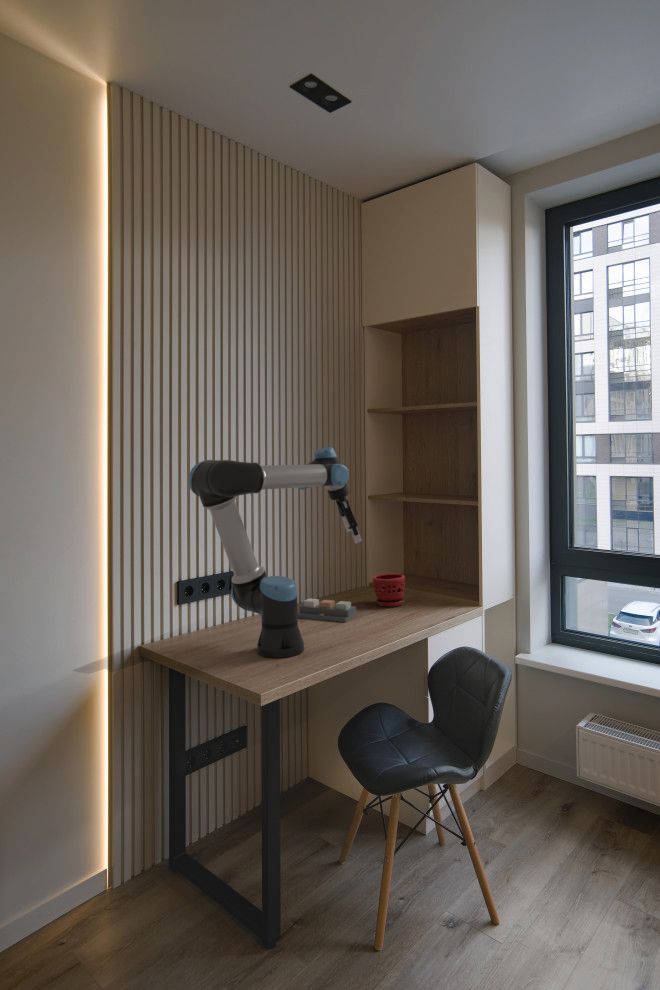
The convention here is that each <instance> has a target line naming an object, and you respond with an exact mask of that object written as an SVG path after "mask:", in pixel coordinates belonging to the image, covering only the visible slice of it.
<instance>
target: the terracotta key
mask: <svg viewBox="0 0 660 990" xmlns="http://www.w3.org/2000/svg"><path fill="white" fill-rule="evenodd" d="M335 602H336V601H335V600H333V599H332V600H330V599H323V600H321V601H319V603H320V608H329V609H331V608H332V607H334V606H335V605H336V603H335Z"/></svg>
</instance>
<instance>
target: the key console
mask: <svg viewBox="0 0 660 990" xmlns="http://www.w3.org/2000/svg"><path fill="white" fill-rule="evenodd" d="M298 610H299V611H298V612H297V614H298V619H306V618H309V620H316V619H319V621H326V620H329V621H328V622H336V621H338V622H337V623H345V622H346V623H347V622H349V621H350V619H351V620H352V619H354V618H355V616H356V617H357V607H356V606H355V605H353V606H352V605H351V608H350V609H348V610H340V609H336V604H335V606H334V607H332V608H331V609H329V608H320V602H319V605H318V606H316V607H308V606H304V603H303V604H302V605H301V604H300V606H298ZM353 617H354V618H353Z"/></svg>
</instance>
